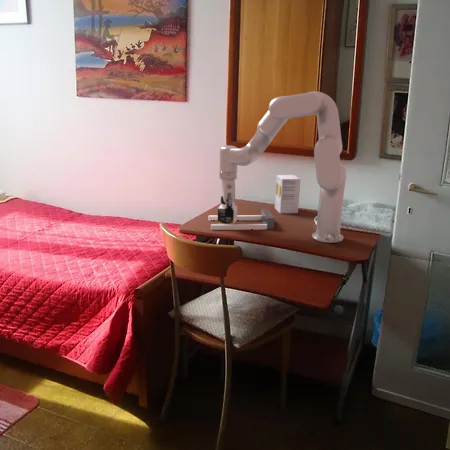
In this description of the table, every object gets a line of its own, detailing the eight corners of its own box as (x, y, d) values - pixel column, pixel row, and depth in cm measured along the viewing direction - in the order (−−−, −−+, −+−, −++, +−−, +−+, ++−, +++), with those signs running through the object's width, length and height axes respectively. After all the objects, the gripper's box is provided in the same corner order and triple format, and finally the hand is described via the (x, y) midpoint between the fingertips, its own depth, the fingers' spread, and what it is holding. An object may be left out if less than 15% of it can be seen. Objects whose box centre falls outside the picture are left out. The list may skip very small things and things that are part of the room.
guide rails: (266, 229, 229) (267, 224, 229) (211, 229, 227) (211, 225, 226) (260, 219, 244) (261, 215, 243) (208, 219, 241) (208, 215, 240)
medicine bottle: (217, 223, 232) (217, 196, 228) (221, 219, 238) (221, 193, 235) (233, 225, 230) (234, 198, 227) (237, 220, 237) (237, 194, 233)
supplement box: (274, 208, 263) (276, 174, 258) (292, 207, 264) (294, 174, 259) (279, 213, 254) (282, 178, 249) (298, 213, 255) (300, 178, 251)
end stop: (273, 229, 230) (274, 218, 228) (266, 229, 229) (267, 218, 228) (267, 219, 244) (267, 208, 242) (260, 219, 244) (261, 208, 242)
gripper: (239, 179, 220) (238, 219, 225) (234, 171, 237) (233, 208, 242) (221, 179, 219) (220, 219, 224) (217, 171, 236) (216, 208, 241)
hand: (227, 213), depth 233 cm, fingers closed on medicine bottle, 9 cm apart
